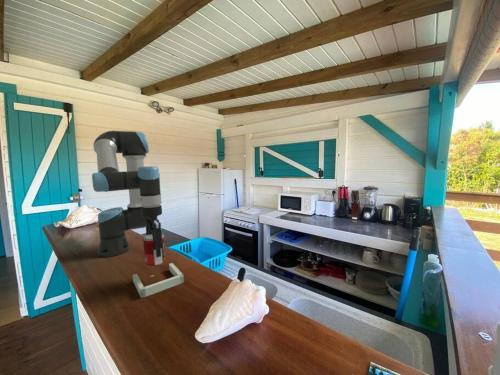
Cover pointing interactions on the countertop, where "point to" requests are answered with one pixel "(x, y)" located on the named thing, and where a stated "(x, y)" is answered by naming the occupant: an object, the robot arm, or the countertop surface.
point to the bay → (160, 285)
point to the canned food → (150, 252)
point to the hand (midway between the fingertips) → (155, 260)
